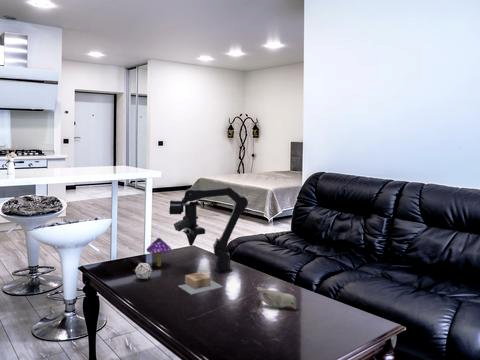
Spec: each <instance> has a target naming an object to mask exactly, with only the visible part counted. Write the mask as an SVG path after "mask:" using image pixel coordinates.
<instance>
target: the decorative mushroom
mask: <svg viewBox="0 0 480 360" xmlns="http://www.w3.org/2000/svg"><path fill="white" fill-rule="evenodd" d="M171 250H172V248H171V246H170V245H168V243H167V242H165V241H164V240H163V239H162V238H160V237H157V238H156V239H155V240H154V241H153V242H152V243H151V244H150V245H149V246H148V247H147V248H146V252H147V253H150V254H156V262H157V264H156V266H157V267H161V266H162V258H161V257H162V255H161V254H164V253H168V252H171Z"/></svg>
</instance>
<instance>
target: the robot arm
mask: <svg viewBox="0 0 480 360" xmlns="http://www.w3.org/2000/svg"><path fill="white" fill-rule="evenodd" d="M222 196H228V197H229V198H230V199H231V200H232V201H234V204H233V208H232V211H231V212H232V213H231V214H230V217H229V218H228V222H227V224H226V225H225V228H224V229H223V232H222V234H221V236H220V237H219V238H217V237H216V238H215V241H214V243H213V245H212V246H213V253H214V255H215V257H217V258H216V262H215V268H214V270H215V271H217V272H219V273H221V274H223V273H228V272H232V271H233V269H232V268H231V256H230V252H229V251H228V249H227V248H228V244H229V239H230V238H231V235H232V233H233V231H234V229H235V227H236V224H237V223H238V221H239V218H240V216H241V215H242V213H244V211H245V210H246V208H247V207H248V206H249V202H248V201H249V200H248V199H247V198H246V196H245V195H241V194H239V193H237V192H236V190H234V189H233V188H232V187H230V186H225V187H217V188H207V189H205V188H204V189H203V188H202V189H200V188H195V187H194V188H193V187H192V188H191V187H189V188H187V189H186V190H185V193H184V197H183V198H182V199H181V200H170V201H169V216H171V215H182V214H183V213H184V215H183V217H182V219H180V220H179V221H176V222H175V223H173V227H174V230H175V231H177V232H182V233H183V234H185V235H186V239H187V240H188V244H189V246H193V245H194V243H195V241H196V239H197V236H198V235H205V234H206V229H205V228H204V227H201V226H199V224H197V222H198V221H197V220H198V219H199V216H197V215H198V214H197V213H198V211H197V210H198V209H197V206H201V202H199V200H201V199H203V198H213V197H222ZM188 202H189V203H188ZM182 230H183V231H182Z"/></svg>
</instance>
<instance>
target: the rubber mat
mask: <svg viewBox="0 0 480 360" xmlns="http://www.w3.org/2000/svg"><path fill="white" fill-rule="evenodd" d="M178 288H180V289H182V290H183V291H184V292H186V293H188V295H191V296H193V295H197V294H200V293H205V292H209V291H214V290H218V289H223V288H224V286H223V285H221V284H220V283H218V282H215V280H212V279H210V286H206V287H202V288H197V289H194V288H192V287H191V286H189V285H187V284H186V283H185V284H180V285H178Z"/></svg>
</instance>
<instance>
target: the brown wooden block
mask: <svg viewBox="0 0 480 360" xmlns="http://www.w3.org/2000/svg"><path fill="white" fill-rule="evenodd" d="M210 280H211V277H210V276H208V275H207V274H205V273H202V272H200V271H199V272H194V273H190V274H185V275H184V283H185V284H187V285H189V286H191V287H192V288H194V289H197V288H202V287H206V286H210Z"/></svg>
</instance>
